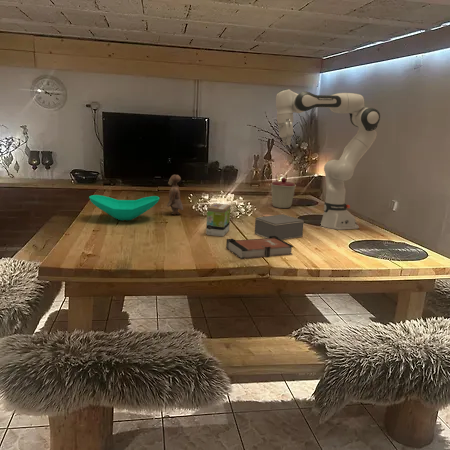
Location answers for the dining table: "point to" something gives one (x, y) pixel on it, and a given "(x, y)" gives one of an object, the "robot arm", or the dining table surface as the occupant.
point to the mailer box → (279, 230)
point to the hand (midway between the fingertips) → (287, 145)
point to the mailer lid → (279, 219)
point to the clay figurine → (174, 194)
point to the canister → (282, 193)
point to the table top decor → (124, 206)
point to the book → (259, 247)
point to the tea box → (218, 219)
